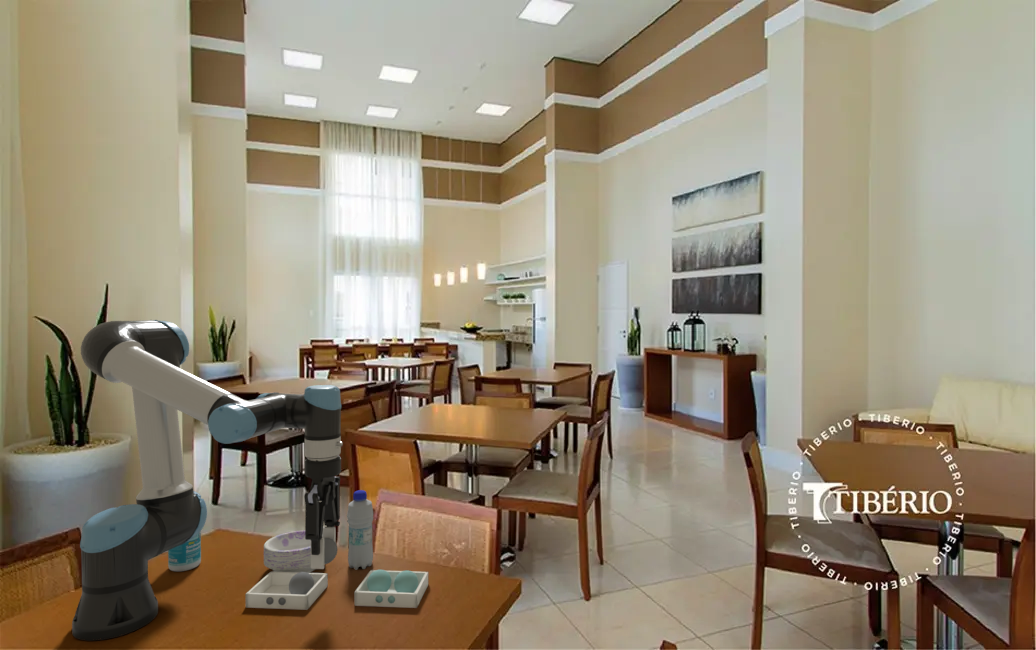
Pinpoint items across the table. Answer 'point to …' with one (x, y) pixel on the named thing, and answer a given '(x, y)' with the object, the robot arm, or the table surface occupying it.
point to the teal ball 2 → (406, 582)
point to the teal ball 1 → (379, 581)
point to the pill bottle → (185, 555)
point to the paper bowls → (288, 553)
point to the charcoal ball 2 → (329, 550)
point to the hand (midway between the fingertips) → (323, 561)
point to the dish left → (284, 592)
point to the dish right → (391, 593)
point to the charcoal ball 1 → (301, 583)
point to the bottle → (360, 531)
